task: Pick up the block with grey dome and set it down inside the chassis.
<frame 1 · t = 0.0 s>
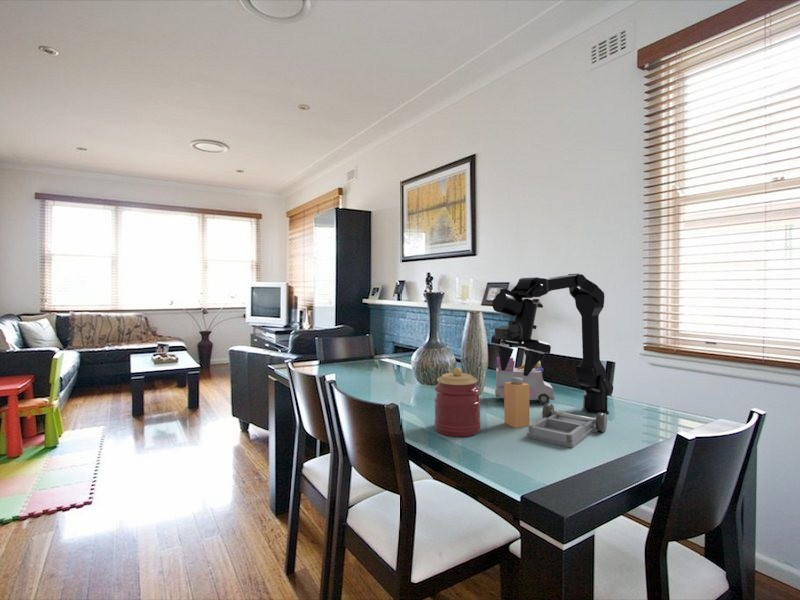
hand: (513, 373, 122), 15 cm above the table, tool pointing down, fingers open, 9 cm apart
chassis: (557, 436, 114), on the table
block with grey dome: (516, 424, 125), on the table
toy vehicle: (523, 401, 151), on the table
canister: (457, 430, 120), on the table
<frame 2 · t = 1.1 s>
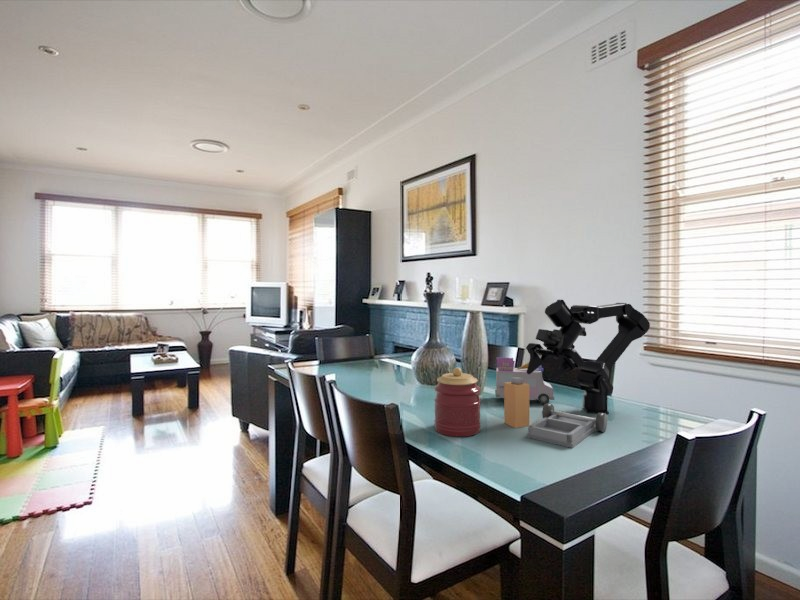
hand: (538, 376, 128), 13 cm above the table, tool tilted 45°, fingers open, 9 cm apart
nothing on the table moved.
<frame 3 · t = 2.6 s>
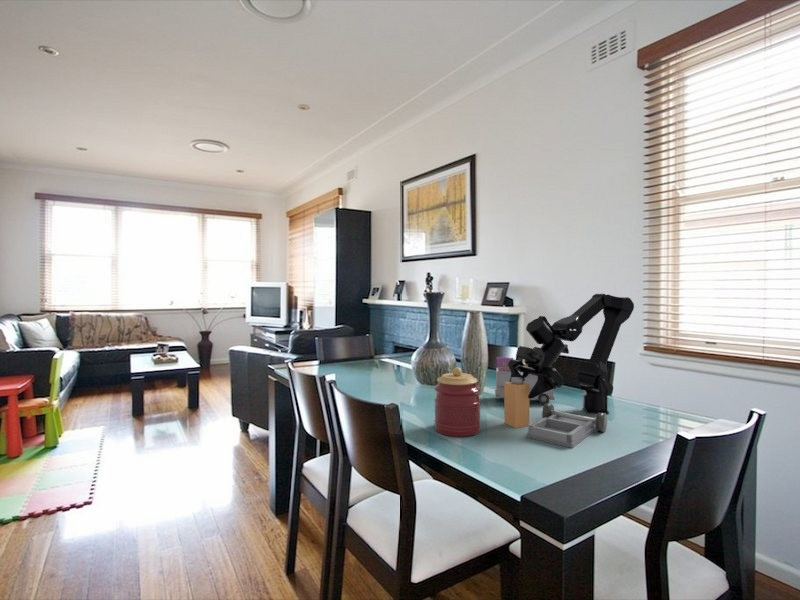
hand: (518, 394, 125), 9 cm above the table, tool tilted 45°, fingers open, 9 cm apart
nothing on the table moved.
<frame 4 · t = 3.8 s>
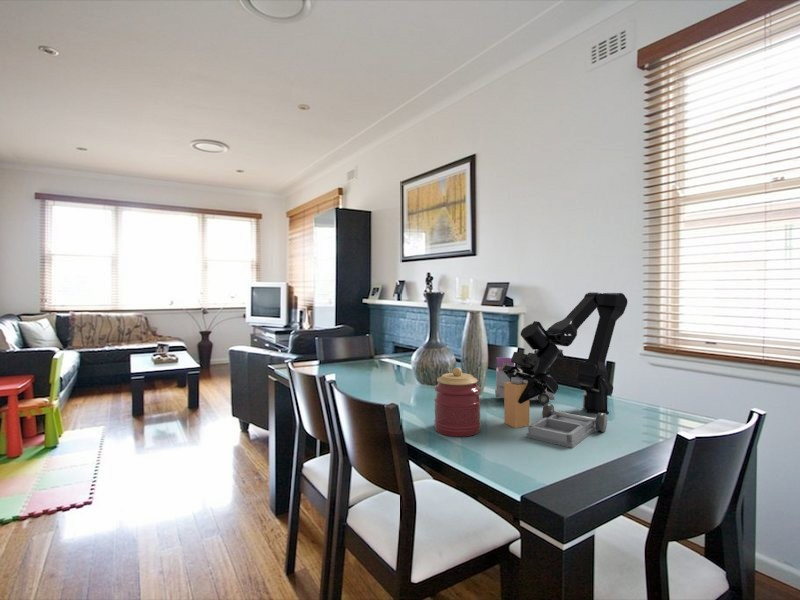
hand: (512, 400, 124), 7 cm above the table, tool tilted 45°, fingers closed on block with grey dome, 5 cm apart
block with grey dome: (516, 424, 125), on the table, touching gripper
everything else where it was.
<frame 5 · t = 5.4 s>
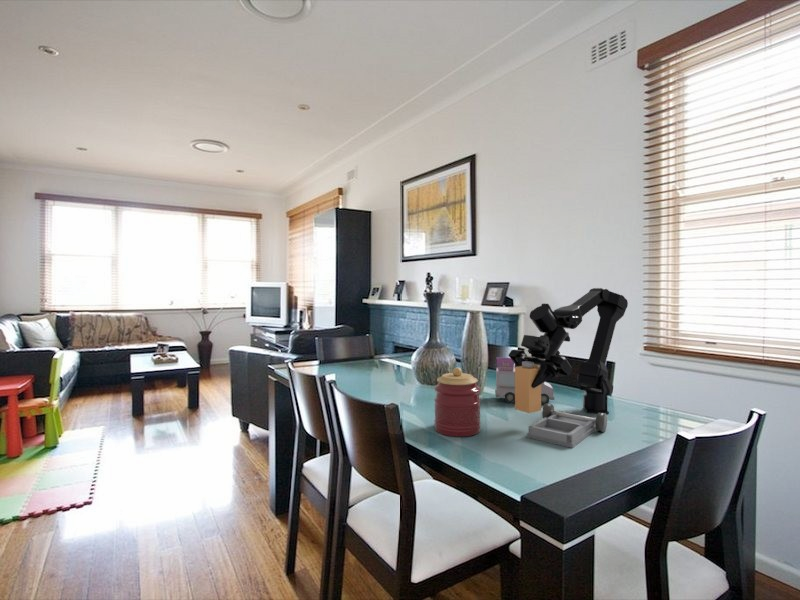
hand: (524, 385, 120), 12 cm above the table, tool tilted 45°, fingers closed on block with grey dome, 5 cm apart
block with grey dome: (528, 409, 121), point 5 cm above the table, touching gripper
everything else where it was.
when the fingers open (9 cm above the table, at t = 7.2 s): block with grey dome stays where it is, resting on chassis.
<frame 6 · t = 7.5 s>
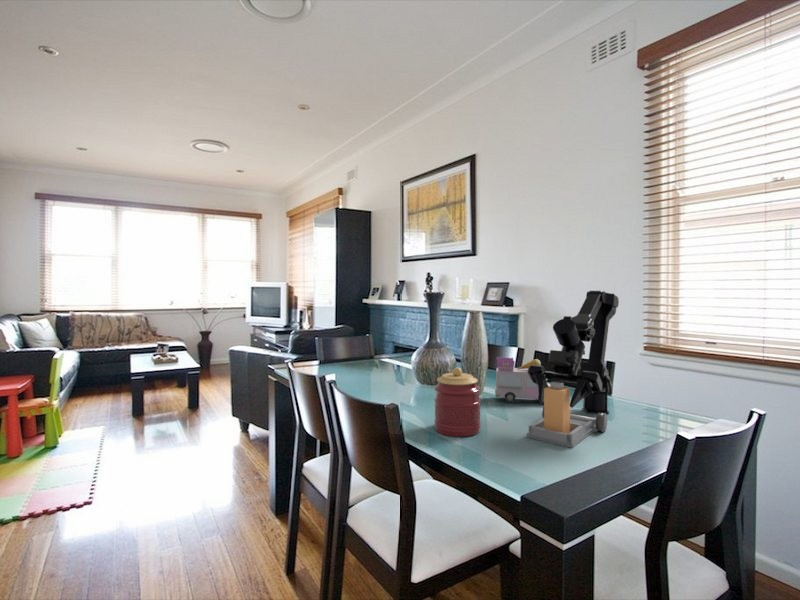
hand: (555, 404, 113), 9 cm above the table, tool tilted 45°, fingers open, 8 cm apart
block with grey dome: (557, 433, 114), point 1 cm above the table, touching chassis
everything else where it was.
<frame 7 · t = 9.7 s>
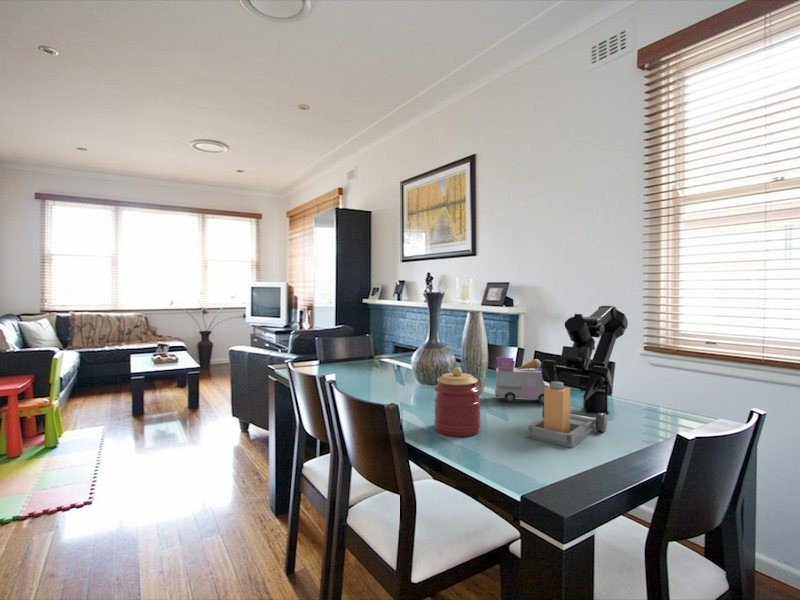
hand: (567, 396, 120), 9 cm above the table, tool tilted 45°, fingers open, 9 cm apart
nothing on the table moved.
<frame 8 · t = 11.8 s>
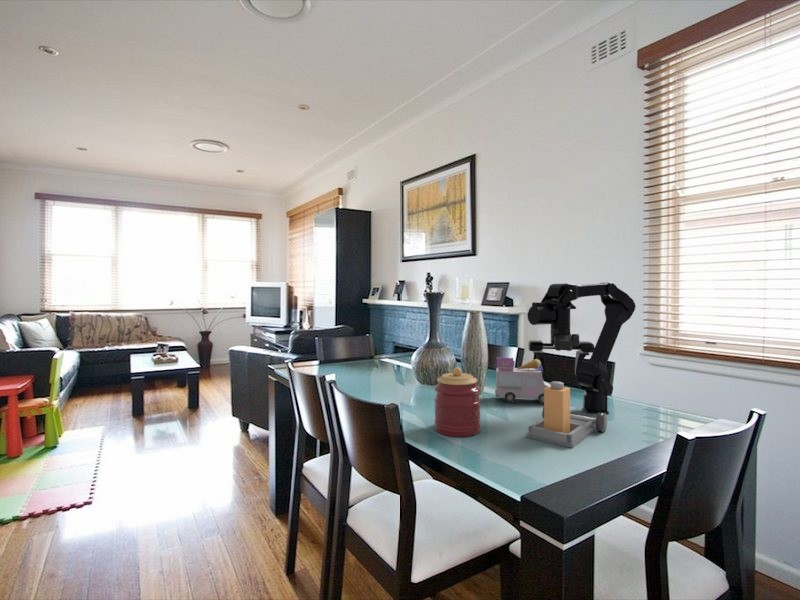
hand: (560, 374, 133), 13 cm above the table, tool pointing down, fingers open, 9 cm apart
nothing on the table moved.
at the end: block with grey dome 0.0 cm from the target spot, point 1.0 cm above the table; block with grey dome tilted 0°; the gripper is holding nothing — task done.
